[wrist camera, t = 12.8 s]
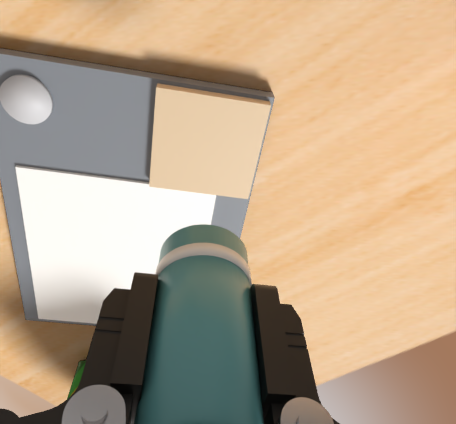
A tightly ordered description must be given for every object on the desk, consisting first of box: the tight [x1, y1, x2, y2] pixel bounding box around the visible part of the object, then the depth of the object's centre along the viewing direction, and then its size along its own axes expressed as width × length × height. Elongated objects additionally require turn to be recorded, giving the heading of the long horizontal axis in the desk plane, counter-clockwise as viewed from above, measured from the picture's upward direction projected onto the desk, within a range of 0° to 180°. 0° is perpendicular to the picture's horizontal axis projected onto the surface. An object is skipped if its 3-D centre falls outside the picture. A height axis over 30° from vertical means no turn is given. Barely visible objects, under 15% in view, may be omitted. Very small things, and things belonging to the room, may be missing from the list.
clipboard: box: [0, 48, 274, 326], centre depth 25 cm, size 19×14×1 cm
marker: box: [134, 224, 264, 424], centre depth 11 cm, size 3×3×8 cm
